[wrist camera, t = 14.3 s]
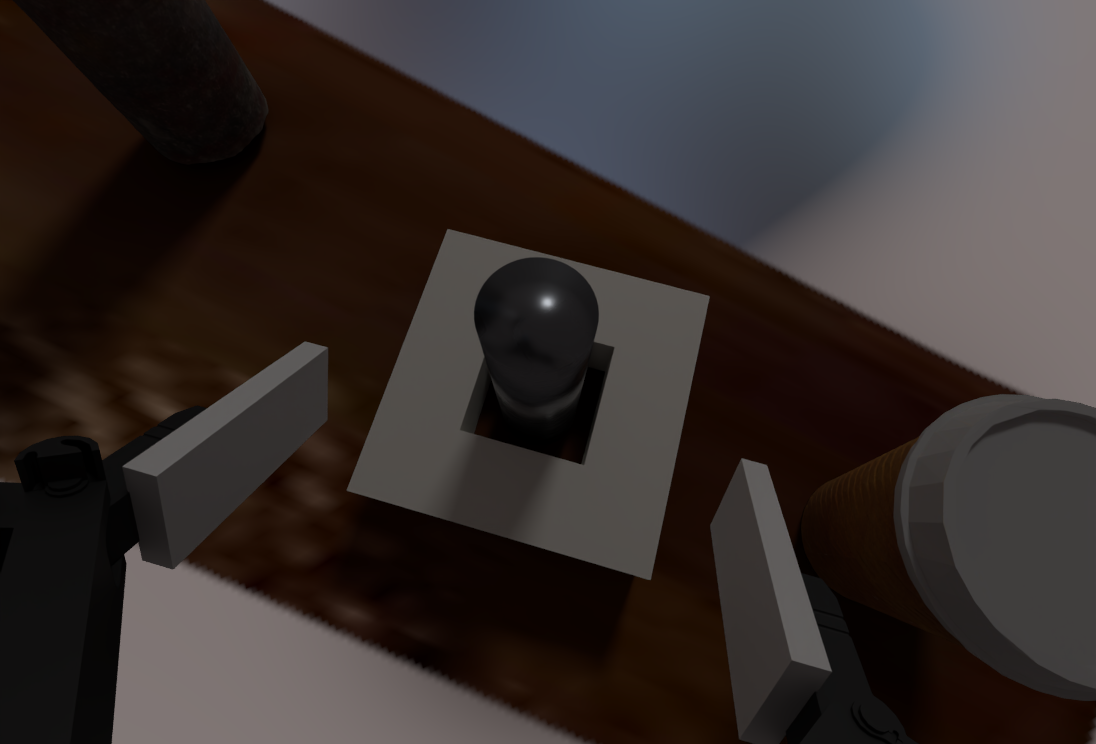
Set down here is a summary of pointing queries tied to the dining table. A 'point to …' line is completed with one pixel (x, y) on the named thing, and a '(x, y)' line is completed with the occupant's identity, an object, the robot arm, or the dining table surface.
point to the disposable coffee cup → (977, 537)
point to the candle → (161, 71)
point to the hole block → (524, 475)
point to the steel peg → (537, 344)
